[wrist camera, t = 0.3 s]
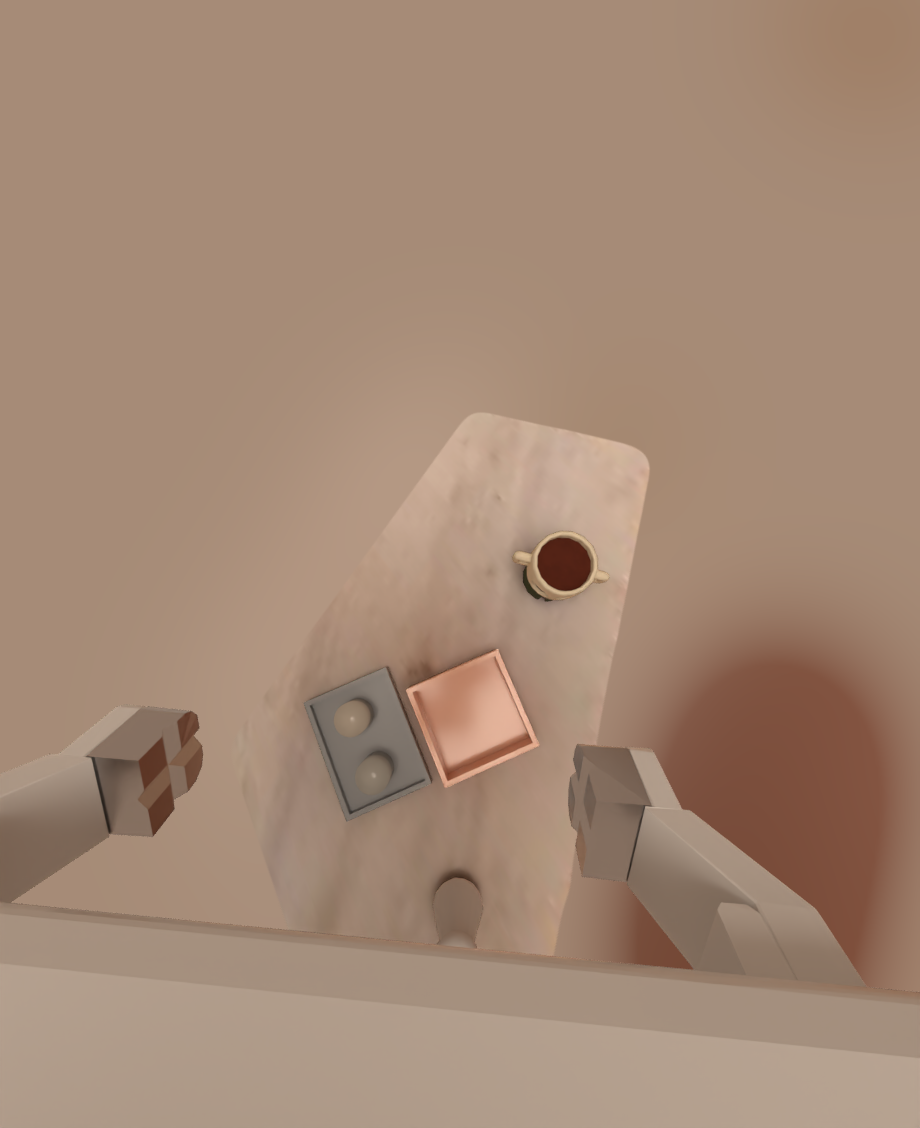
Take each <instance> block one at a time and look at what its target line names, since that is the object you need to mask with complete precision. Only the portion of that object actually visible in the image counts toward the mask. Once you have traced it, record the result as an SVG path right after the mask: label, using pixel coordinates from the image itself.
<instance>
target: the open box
mask: <svg viewBox="0 0 920 1128" xmlns="http://www.w3.org/2000/svg"><path fill="white" fill-rule="evenodd" d="M406 692H407V694H408V697H409V699H410V702H411V704H412V707H413V709H414V712H415V714H416V717H417V719H418V722H419V724H420V727H421V729H422V732H423V734H424V737H425V739H426V742H427V744H428V747H429V749H430V752H431V755H432V757H433V760H434V762H435V765H436V767H437V770H438V772H439V775H440V777H441V780H442V782H443V785H444V787H445V788H447V787H449V786H451V785H453V784H455V783H458V782H460V781H462V780H464V779H467V778H469V777H471V776H473V775H475V774H478V773H480V772H482V771H484V770H487V769H489V768H491V767H493V766H495V765H498V764H500V763H502V762H504V761H507V760H509V759H511V758H513V757H515V756H518V755H520V754H522V753H524V752H527V751H529V750H531V749H533V748H535V747H538V746H540V745H539V743H538V741H537V739H536V736H535V734H534V732H533V729H532V727H531V725H530V722H529V720H528V718H527V716H526V713H525V711H524V709H523V706H522V704H521V702H520V699H519V697H518V695H517V693H516V690H515V688H514V686H513V683H512V681H511V679H510V676H509V674H508V672H507V670H506V667H505V665H504V663H503V660H502V658H501V656H500V653H499V651H498V650H497V649H495V650H492V651H490V652H488V653H486V654H483V655H481V656H479V657H476V658H474V659H472V660H470V661H467V662H465V663H463V664H460V665H458V666H456V667H454V668H451V669H449V670H447V671H444V672H442V673H440V674H438V675H435V676H433V677H431V678H428V679H426V680H424V681H422V682H419V683H417V684H415V685H412V686H410V687H409V688H407V689H406Z"/></svg>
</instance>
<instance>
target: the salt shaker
mask: <svg viewBox="0 0 920 1128" xmlns="http://www.w3.org/2000/svg"><path fill="white" fill-rule="evenodd" d="M482 910H483V905H482V899H481V895H480V892H479V891H478V889H477V888H476V887H475V885H474V884H473V883H472V882H470V881H468V880H466V879H464V878H458V877H454V878H452V879H450V880H448V881H446V882H444V883H443V884H442V885H441V886H440V888H439V889H438V890H437V891H436V893H435V898H434V902H433V911H434V917H435V922H436V927H437V932H438V937H439V942H438V943H437V945H445V946H455V947H465V948H475V949H477V946H476V944H475V938H476V934H477V930H478V926H479V922H480V919H481V914H482Z"/></svg>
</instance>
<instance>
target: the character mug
mask: <svg viewBox="0 0 920 1128" xmlns="http://www.w3.org/2000/svg"><path fill="white" fill-rule="evenodd" d="M512 559H513V561H514V562H515V563H518V564H521V565H526V567H525V570H524V572H523V583H524V585H525V587H526V589H527V591H528V593H530V594H531V595H532V596H533V597H534V598H535V599H539V598H540V597H545V598H547V599H546V600H545V601H552V600H564V599H567V598H571V597H573V596H575V595H578V594H579V593H581V592H583V591H584V590H585V589H586V588H587V587H588V586H589V585H590V584H591V583H592V582H594V583H603V582H605V581H607V580H608V579H609V574H608V573H606V572H604V571H600V570H598V557H597V554H596V552H595V549H594V547H593V546H592V544H591V543H590V542H589V541H588V540H587V539H586V538H585V537H583V536H581V535H579V534H577V533H575V532H573V531H558V532H556V533H553V534H550V535H548V536H546V537H545V538H544V539H543V540H542V541H541V542H540V543H539V544H538V545H537V546H536V547H535V549H534V550H533V551H532V553H527V552H523V551H517V552H515V553H514V555H513V557H512Z"/></svg>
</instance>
